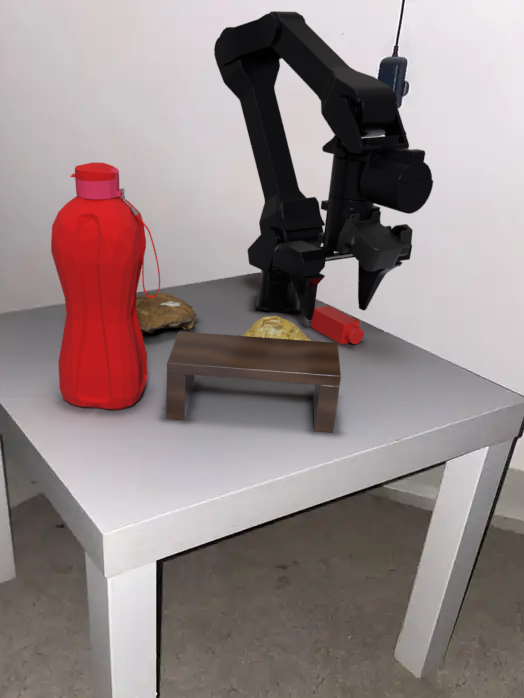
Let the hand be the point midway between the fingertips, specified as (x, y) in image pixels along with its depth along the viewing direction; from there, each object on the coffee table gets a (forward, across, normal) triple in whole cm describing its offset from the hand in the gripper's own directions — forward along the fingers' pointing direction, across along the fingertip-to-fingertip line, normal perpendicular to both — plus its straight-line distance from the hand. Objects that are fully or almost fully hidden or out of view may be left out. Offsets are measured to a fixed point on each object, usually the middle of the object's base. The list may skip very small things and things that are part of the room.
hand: (335, 314), depth 105 cm
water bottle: (+3, -35, -4) cm, 35 cm away
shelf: (+3, -22, -14) cm, 26 cm away
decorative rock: (+3, -23, +13) cm, 26 cm away
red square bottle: (+3, 0, 0) cm, 3 cm away
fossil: (+3, -12, -3) cm, 12 cm away
